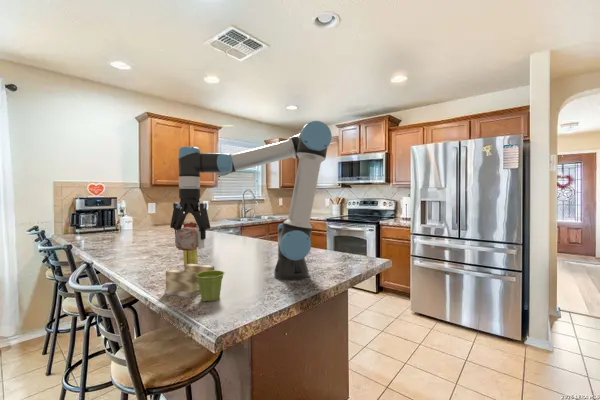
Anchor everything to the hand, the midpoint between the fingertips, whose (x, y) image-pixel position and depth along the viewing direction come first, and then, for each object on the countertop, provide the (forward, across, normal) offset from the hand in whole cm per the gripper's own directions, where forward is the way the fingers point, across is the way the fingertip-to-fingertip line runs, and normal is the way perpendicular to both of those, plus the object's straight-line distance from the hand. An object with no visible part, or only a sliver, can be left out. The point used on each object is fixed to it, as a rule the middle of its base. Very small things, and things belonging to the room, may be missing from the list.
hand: (190, 247), depth 110 cm
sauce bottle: (+16, +21, -24) cm, 36 cm away
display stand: (+16, 0, 0) cm, 16 cm away
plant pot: (+16, -13, +6) cm, 22 cm away
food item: (+1, 0, 0) cm, 1 cm away
